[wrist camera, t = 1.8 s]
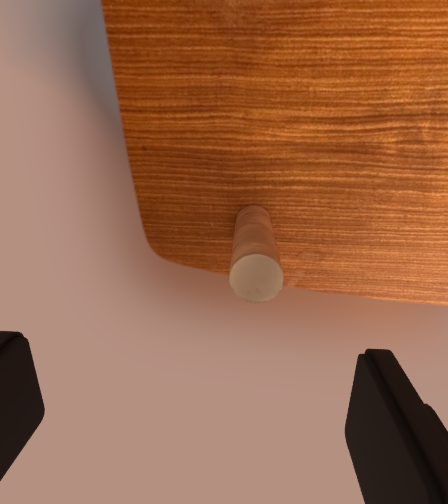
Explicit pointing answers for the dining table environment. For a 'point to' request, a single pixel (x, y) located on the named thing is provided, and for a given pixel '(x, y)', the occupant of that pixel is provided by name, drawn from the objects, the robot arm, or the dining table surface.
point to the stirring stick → (255, 257)
